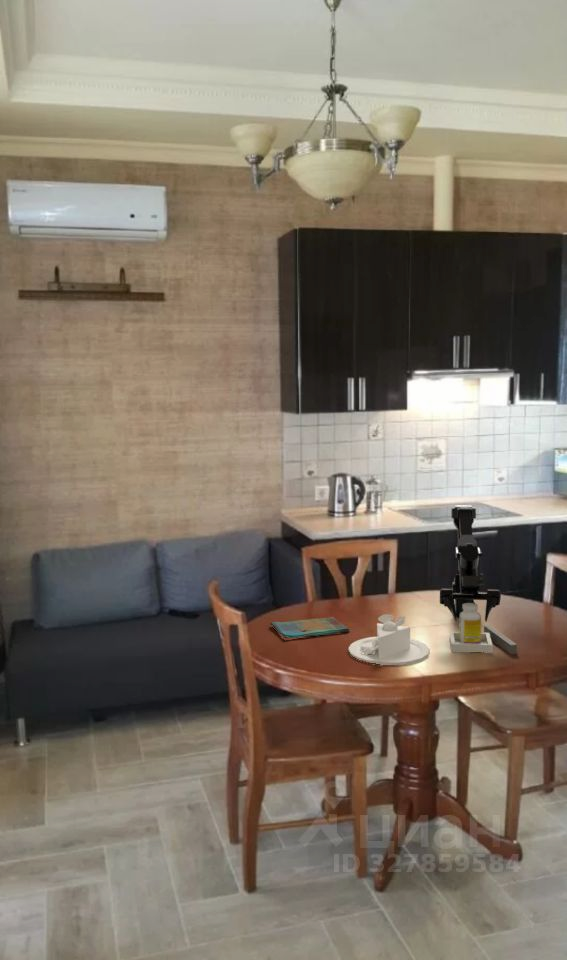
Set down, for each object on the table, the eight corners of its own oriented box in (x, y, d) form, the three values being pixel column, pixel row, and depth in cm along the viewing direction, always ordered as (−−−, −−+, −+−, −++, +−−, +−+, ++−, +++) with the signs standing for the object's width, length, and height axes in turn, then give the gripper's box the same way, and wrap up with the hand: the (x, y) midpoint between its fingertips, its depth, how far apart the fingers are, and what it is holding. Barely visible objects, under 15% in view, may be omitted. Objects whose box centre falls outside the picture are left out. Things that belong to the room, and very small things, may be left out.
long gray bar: (516, 654, 242) (516, 644, 242) (510, 654, 242) (510, 645, 241) (489, 634, 262) (489, 625, 261) (483, 634, 261) (484, 625, 261)
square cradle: (451, 651, 245) (451, 644, 245) (449, 639, 258) (449, 631, 257) (492, 653, 243) (492, 645, 243) (489, 640, 256) (489, 632, 255)
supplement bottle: (485, 645, 249) (485, 605, 248) (468, 649, 246) (468, 608, 245) (471, 639, 255) (471, 600, 253) (454, 643, 252) (454, 603, 251)
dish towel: (269, 628, 276) (269, 621, 276) (332, 620, 283) (332, 613, 283) (284, 643, 260) (283, 635, 259) (350, 634, 267) (350, 627, 266)
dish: (364, 636, 264) (364, 603, 262) (438, 645, 253) (438, 611, 251) (336, 660, 242) (335, 624, 240) (416, 671, 231) (416, 633, 229)
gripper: (439, 564, 253) (441, 607, 243) (500, 564, 250) (503, 609, 240) (439, 582, 261) (440, 624, 252) (497, 583, 258) (500, 626, 249)
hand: (470, 620), depth 248 cm, fingers open, 9 cm apart
